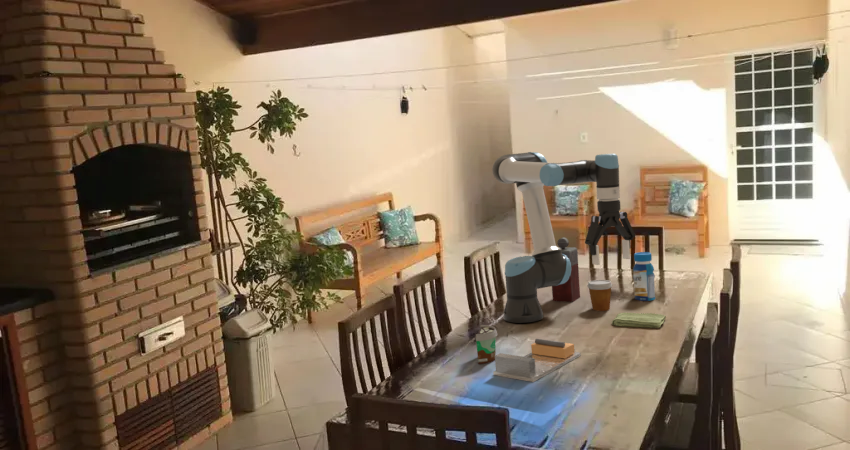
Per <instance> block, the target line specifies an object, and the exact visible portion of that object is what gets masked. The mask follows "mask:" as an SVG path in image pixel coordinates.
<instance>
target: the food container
mask: <svg viewBox="0 0 850 450" xmlns="http://www.w3.org/2000/svg"><path fill="white" fill-rule="evenodd" d="M497 337H498V332H497V329H496V327H494V326H492V325H487V324H486V325H485V324H480V325H479V330H478V332H477V334H475V342H476V352H477V353H476V354H477V363H478V365H486V364H490V363H493V362H495V356H496V355H497V353H496V347H497V346H496V345H497V344H496V343H497V342H496V341H497V340H496V338H497Z"/></svg>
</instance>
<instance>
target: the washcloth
mask: <svg viewBox="0 0 850 450" xmlns="http://www.w3.org/2000/svg"><path fill="white" fill-rule="evenodd" d="M666 316H667V315H664V314H662V313H655V312H654V313H652V312H650V313H649V312H646V313H644V312H643V313H642V312H641V313H636V312H619V313H617V315H616V316H615V317H614V319H612V321H611V325H612V326H615V327H623V328H647V329H648V328H650V329H651V328H653V329H661V326H662V324H664V322H665V319H666V318H667V317H666Z"/></svg>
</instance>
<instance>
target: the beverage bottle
mask: <svg viewBox="0 0 850 450" xmlns="http://www.w3.org/2000/svg"><path fill="white" fill-rule="evenodd" d="M652 256H653V255H652V253H651V252H649V251H641V252H635V253H634V254H633V258H634V263H635V264H634V266H633V268H632V271H633V274H632V279H633V287H634V288H633V289H634V300H637V301H640V302H641V301H643V302H649V301H654V300H656V294H655V293H656V292H655V291H656V290H655V278H656V277H655V276H656V275H655V273H654V272H655V268H654V265H653V264H652V260H653V257H652Z"/></svg>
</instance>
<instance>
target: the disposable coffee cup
mask: <svg viewBox="0 0 850 450" xmlns="http://www.w3.org/2000/svg"><path fill="white" fill-rule="evenodd" d="M587 283H588V284H587V288H588V293H589V297H590V303H591V309H592V310H593V311H597V312H603V311H604V312H605V311H609V310H610V308H611V298H612V297H611V296H612V287H613V284H612V282H611V280H607V279H595V280H590V281H588V282H587Z"/></svg>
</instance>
